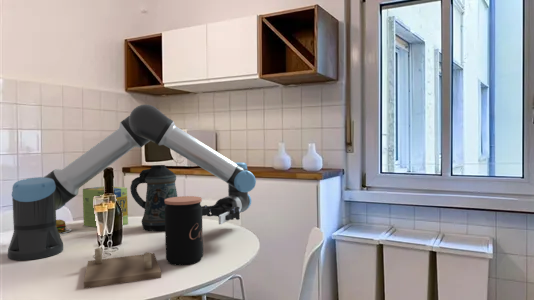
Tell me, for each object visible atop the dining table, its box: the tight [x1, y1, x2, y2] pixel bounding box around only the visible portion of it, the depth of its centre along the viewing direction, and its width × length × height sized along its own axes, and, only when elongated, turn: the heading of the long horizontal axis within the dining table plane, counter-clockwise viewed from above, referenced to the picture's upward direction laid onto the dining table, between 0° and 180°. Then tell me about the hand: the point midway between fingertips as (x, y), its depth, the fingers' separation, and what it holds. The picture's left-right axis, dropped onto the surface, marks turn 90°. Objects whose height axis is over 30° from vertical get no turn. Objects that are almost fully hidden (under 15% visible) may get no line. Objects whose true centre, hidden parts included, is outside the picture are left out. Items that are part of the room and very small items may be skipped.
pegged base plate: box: [83, 247, 162, 289], centre depth 107 cm, size 18×18×6 cm
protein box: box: [82, 186, 129, 228], centre depth 166 cm, size 10×15×16 cm
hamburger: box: [56, 219, 72, 235], centre depth 154 cm, size 12×12×6 cm
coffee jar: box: [164, 195, 204, 266], centre depth 115 cm, size 11×11×18 cm
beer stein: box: [129, 164, 178, 233], centre depth 158 cm, size 16×19×25 cm
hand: (200, 219), depth 125 cm, fingers open, 13 cm apart
